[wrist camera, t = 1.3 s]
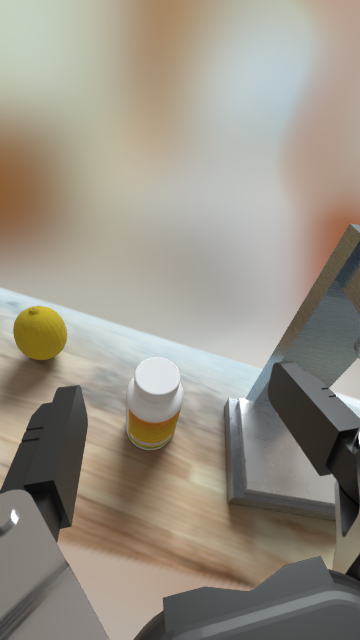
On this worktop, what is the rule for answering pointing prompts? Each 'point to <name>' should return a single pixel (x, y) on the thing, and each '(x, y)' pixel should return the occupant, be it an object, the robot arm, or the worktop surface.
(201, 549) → the worktop surface
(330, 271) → the arbor press
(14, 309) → the worktop surface
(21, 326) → the lemon
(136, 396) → the supplement bottle
